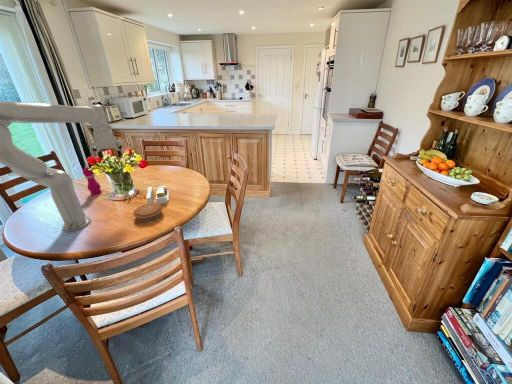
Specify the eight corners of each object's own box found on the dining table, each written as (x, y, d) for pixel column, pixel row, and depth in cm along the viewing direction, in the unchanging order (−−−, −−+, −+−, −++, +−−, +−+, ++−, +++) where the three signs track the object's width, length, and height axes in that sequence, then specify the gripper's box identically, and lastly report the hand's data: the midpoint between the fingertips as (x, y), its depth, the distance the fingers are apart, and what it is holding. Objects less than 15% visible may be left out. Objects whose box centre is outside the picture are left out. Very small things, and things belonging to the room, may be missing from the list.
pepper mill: (104, 190, 164) (95, 163, 155) (97, 195, 157) (87, 167, 148) (95, 190, 164) (85, 163, 155) (87, 195, 158) (76, 167, 149)
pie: (169, 213, 136) (168, 205, 134) (146, 226, 125) (143, 218, 123) (153, 206, 144) (151, 198, 142) (129, 218, 132) (126, 210, 130)
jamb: (168, 202, 147) (167, 195, 144) (148, 206, 144) (146, 198, 141) (168, 191, 161) (167, 184, 159) (150, 193, 158) (148, 187, 156)
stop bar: (159, 194, 157) (157, 186, 154) (165, 193, 158) (164, 185, 155) (158, 201, 148) (156, 193, 145) (165, 200, 149) (163, 192, 146)
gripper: (119, 125, 136) (127, 154, 144) (85, 128, 132) (96, 157, 140) (117, 128, 130) (126, 157, 138) (81, 131, 125) (92, 161, 133)
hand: (110, 157), depth 139 cm, fingers open, 9 cm apart
